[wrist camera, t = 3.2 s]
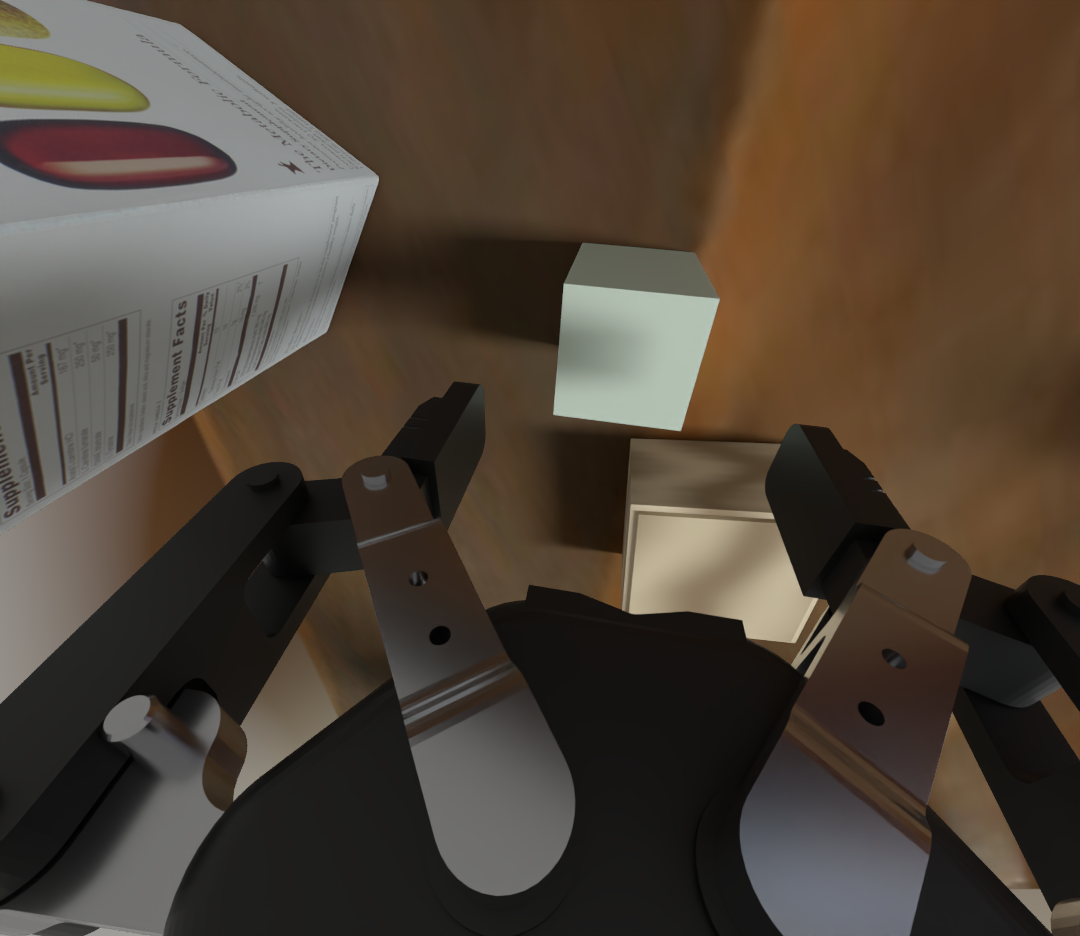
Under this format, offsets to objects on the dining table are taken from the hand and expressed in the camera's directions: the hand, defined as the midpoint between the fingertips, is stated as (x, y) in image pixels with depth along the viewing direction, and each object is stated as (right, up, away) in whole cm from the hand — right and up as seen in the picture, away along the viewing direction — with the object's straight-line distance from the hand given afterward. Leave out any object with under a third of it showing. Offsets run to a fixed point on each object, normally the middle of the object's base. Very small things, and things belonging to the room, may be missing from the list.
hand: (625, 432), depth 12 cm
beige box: (+8, -3, +16) cm, 18 cm away
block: (+2, +7, +9) cm, 12 cm away
